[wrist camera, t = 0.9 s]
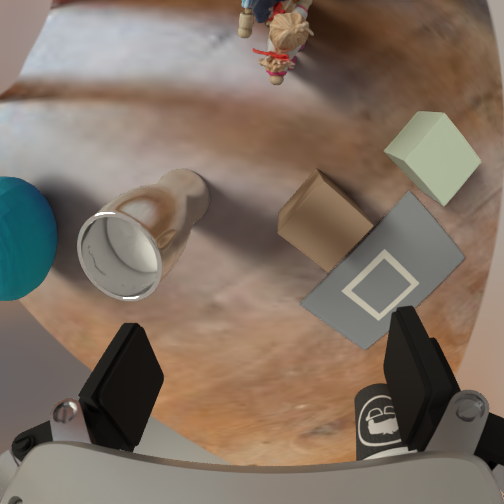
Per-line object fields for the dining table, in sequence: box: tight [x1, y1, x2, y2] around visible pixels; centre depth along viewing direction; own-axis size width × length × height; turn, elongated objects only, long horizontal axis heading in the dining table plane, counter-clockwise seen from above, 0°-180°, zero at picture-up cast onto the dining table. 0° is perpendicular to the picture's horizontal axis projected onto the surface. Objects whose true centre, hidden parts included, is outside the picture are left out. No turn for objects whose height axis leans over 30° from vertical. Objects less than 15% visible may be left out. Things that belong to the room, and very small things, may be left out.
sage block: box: [384, 111, 481, 206], centre depth 25 cm, size 6×6×6 cm
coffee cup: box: [355, 384, 417, 461], centre depth 37 cm, size 10×10×15 cm
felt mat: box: [300, 191, 465, 350], centre depth 34 cm, size 18×12×1 cm, turn 143°
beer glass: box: [77, 169, 210, 301], centre depth 26 cm, size 7×7×15 cm
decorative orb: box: [0, 177, 58, 301], centre depth 29 cm, size 15×15×15 cm
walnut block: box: [278, 168, 373, 272], centre depth 29 cm, size 6×6×6 cm
